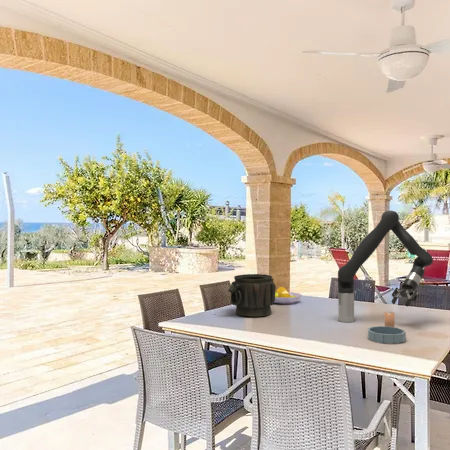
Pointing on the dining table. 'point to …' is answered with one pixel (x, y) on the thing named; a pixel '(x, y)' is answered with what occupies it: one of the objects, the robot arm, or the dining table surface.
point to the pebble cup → (389, 319)
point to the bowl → (386, 334)
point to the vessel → (253, 294)
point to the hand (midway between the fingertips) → (399, 304)
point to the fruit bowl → (285, 296)
